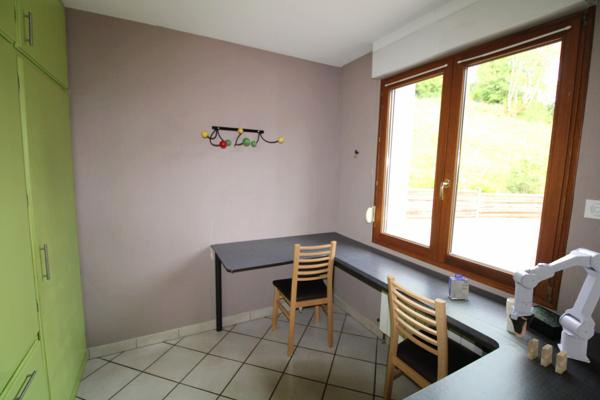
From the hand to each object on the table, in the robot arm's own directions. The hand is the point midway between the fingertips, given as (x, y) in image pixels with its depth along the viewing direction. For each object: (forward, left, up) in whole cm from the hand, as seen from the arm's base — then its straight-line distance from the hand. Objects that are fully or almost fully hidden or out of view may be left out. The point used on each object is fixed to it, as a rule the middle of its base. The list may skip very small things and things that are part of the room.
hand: (521, 331), depth 119 cm
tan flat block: (+5, +8, -9) cm, 13 cm away
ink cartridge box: (-44, -24, -9) cm, 51 cm away
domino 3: (+7, +12, -9) cm, 16 cm away
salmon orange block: (0, 0, -2) cm, 2 cm away
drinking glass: (-17, 0, -9) cm, 20 cm away
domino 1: (+2, +4, -9) cm, 10 cm away
